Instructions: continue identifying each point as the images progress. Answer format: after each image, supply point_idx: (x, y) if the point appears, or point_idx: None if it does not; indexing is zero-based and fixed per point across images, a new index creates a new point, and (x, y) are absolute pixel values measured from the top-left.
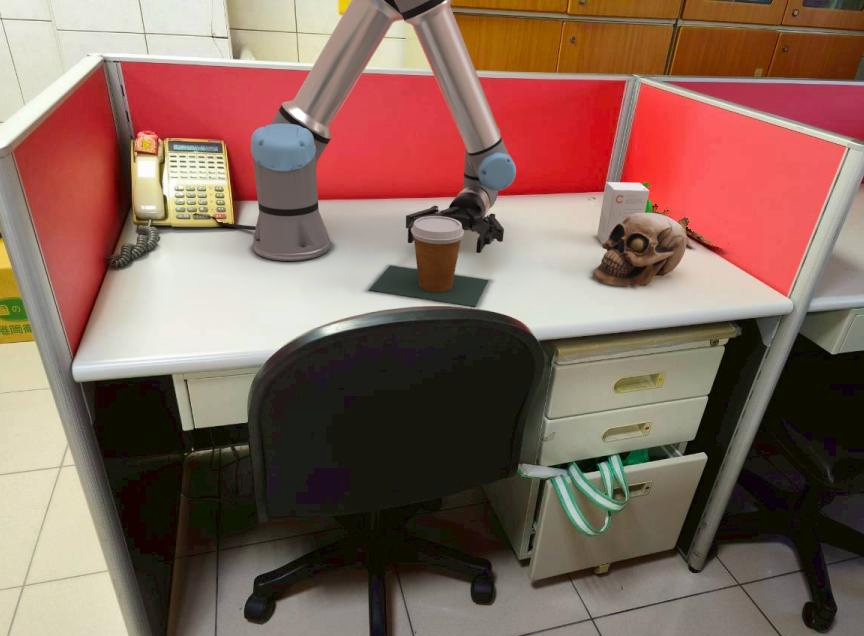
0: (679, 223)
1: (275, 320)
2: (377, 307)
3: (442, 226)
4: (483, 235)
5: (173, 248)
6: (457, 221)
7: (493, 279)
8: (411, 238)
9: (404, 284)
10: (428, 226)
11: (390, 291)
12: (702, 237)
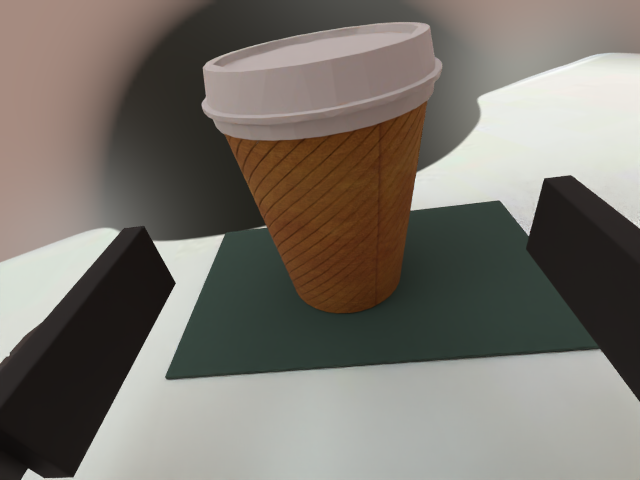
0: None
1: (539, 114)
2: (425, 173)
3: (292, 56)
4: (85, 273)
5: None
6: (222, 69)
7: (140, 403)
8: (533, 226)
9: (435, 246)
10: (350, 44)
11: (443, 211)
12: None
